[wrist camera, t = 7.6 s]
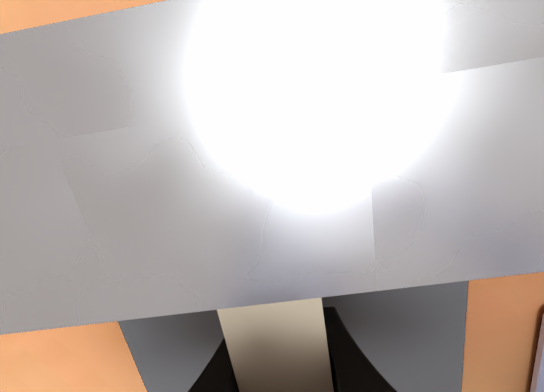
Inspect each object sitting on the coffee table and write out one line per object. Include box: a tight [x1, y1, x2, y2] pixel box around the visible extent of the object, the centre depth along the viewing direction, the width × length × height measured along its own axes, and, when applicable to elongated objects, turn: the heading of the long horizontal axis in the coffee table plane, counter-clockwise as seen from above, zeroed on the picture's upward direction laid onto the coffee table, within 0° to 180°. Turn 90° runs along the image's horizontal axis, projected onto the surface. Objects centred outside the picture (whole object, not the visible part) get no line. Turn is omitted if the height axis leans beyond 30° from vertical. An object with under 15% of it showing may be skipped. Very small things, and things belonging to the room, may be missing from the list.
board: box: [118, 281, 468, 392], centre depth 15 cm, size 16×28×1 cm, turn 9°
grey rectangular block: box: [0, 0, 544, 335], centre depth 8 cm, size 12×5×7 cm, turn 99°
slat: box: [217, 298, 334, 392], centre depth 12 cm, size 18×3×4 cm, turn 9°
